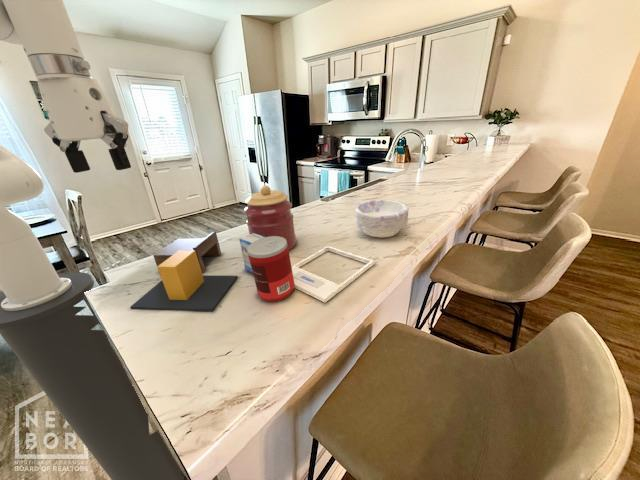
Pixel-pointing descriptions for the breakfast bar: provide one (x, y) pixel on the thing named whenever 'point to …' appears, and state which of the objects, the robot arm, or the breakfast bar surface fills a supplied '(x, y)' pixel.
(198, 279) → the tea packet
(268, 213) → the kitchen canister
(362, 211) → the white purple bowl
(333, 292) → the photo frame
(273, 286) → the canned food
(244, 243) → the medicine box
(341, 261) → the breakfast bar surface
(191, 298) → the counter mat
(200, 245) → the shelf stand
